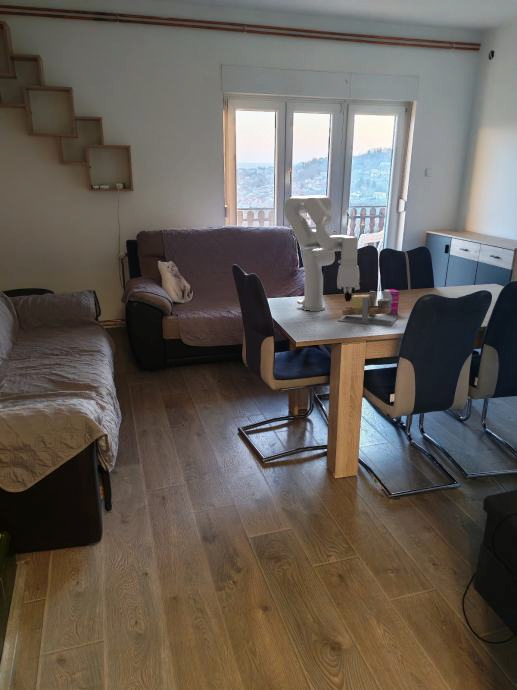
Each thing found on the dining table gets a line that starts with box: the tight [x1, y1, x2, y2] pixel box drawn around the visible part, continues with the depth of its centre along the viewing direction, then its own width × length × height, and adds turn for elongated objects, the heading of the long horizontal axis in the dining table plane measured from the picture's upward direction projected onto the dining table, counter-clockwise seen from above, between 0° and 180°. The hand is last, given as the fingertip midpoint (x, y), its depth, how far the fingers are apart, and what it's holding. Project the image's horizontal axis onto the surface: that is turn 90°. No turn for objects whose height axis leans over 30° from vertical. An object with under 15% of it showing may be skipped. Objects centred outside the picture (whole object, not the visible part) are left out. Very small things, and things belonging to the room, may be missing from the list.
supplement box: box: [382, 288, 400, 315], centre depth 258 cm, size 6×6×12 cm
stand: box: [337, 290, 398, 327], centre depth 245 cm, size 25×17×13 cm
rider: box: [351, 294, 371, 309], centre depth 246 cm, size 8×4×7 cm, turn 65°
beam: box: [342, 296, 391, 316], centre depth 245 cm, size 22×6×8 cm, turn 66°
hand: (348, 300), depth 248 cm, fingers closed
